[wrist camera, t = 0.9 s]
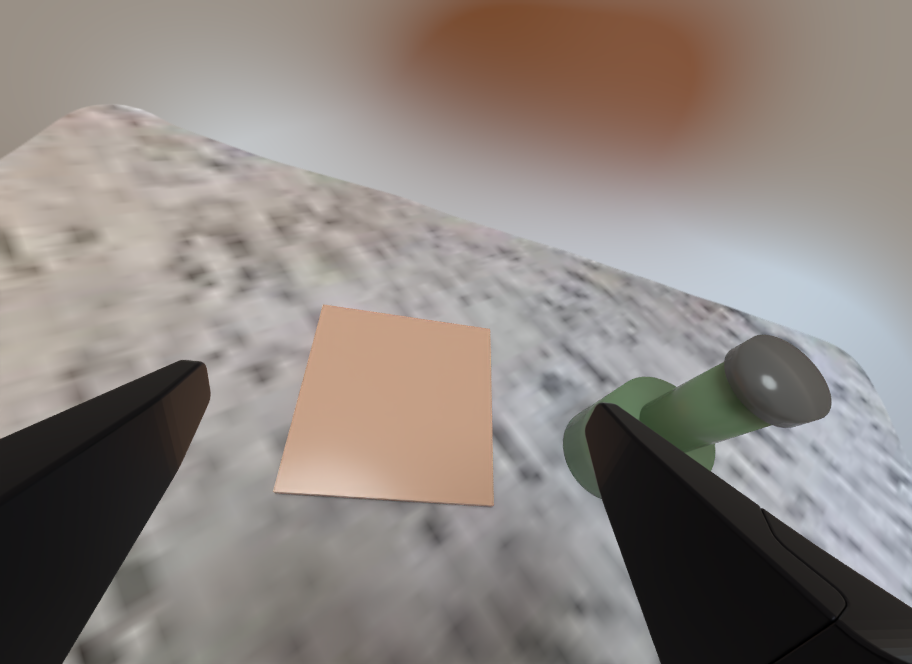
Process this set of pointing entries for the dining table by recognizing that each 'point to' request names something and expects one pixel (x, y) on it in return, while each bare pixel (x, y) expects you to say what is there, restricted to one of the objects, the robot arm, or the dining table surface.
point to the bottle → (714, 403)
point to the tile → (392, 412)
